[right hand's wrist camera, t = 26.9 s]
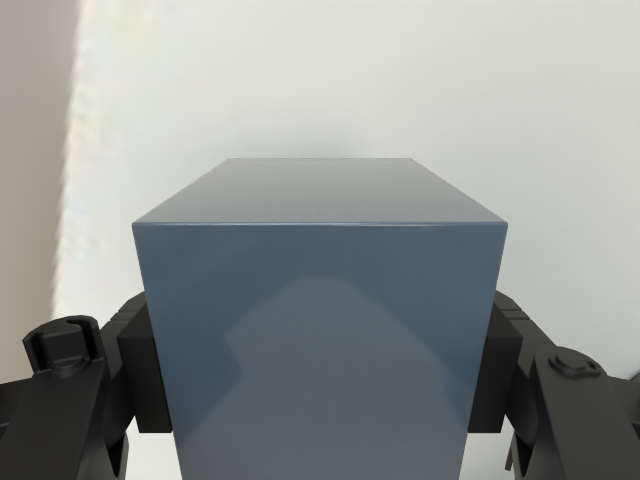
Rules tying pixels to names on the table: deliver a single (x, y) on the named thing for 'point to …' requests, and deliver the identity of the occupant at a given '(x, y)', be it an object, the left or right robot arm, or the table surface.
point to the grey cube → (320, 318)
